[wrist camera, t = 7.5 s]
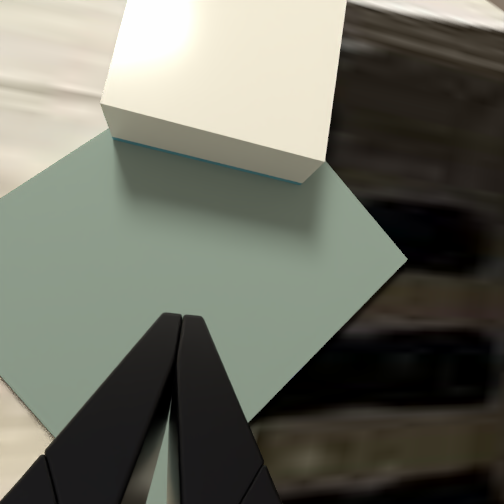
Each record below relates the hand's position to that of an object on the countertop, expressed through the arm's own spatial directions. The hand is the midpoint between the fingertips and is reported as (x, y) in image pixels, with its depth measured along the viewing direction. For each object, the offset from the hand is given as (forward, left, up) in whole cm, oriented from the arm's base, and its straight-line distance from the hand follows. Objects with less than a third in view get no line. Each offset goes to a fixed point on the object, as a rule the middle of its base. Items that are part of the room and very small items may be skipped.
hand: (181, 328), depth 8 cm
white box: (+4, -6, -7) cm, 10 cm away
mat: (+2, -2, -9) cm, 9 cm away
